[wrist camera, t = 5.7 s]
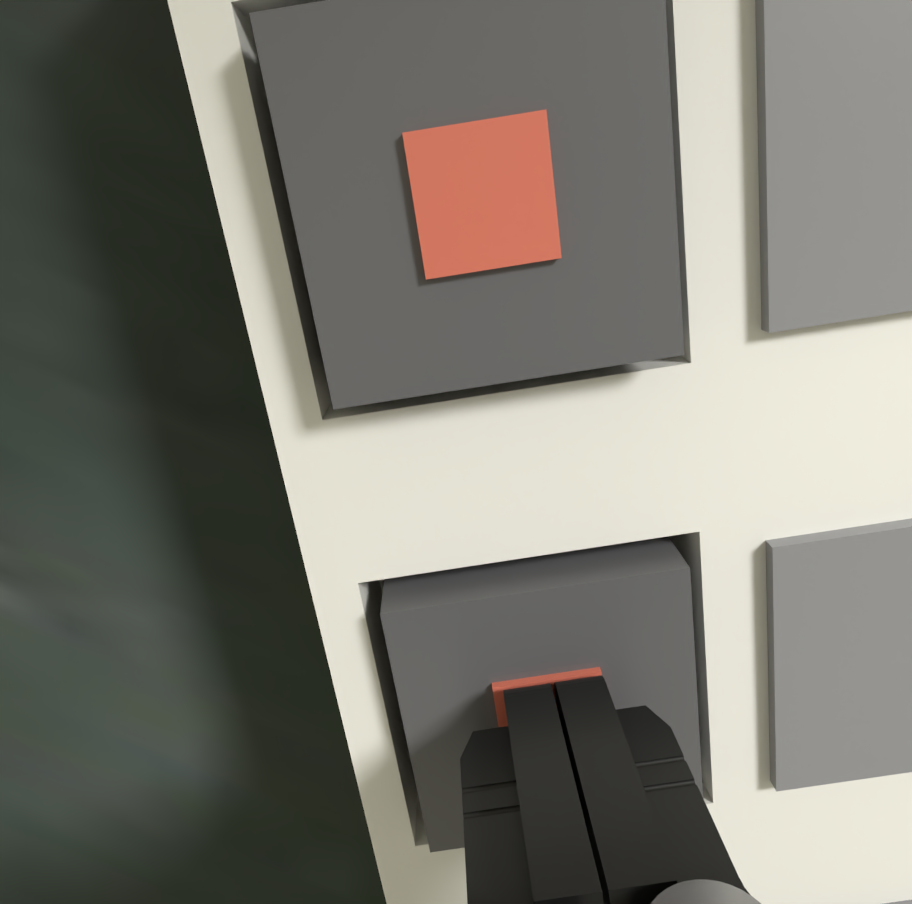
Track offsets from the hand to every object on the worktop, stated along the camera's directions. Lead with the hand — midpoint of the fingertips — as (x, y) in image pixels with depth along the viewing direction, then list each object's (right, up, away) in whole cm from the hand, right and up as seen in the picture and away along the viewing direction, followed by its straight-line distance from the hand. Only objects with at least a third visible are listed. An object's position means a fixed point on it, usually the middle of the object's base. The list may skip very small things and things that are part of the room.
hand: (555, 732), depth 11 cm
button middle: (0, +1, +2) cm, 3 cm away
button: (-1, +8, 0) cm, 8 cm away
